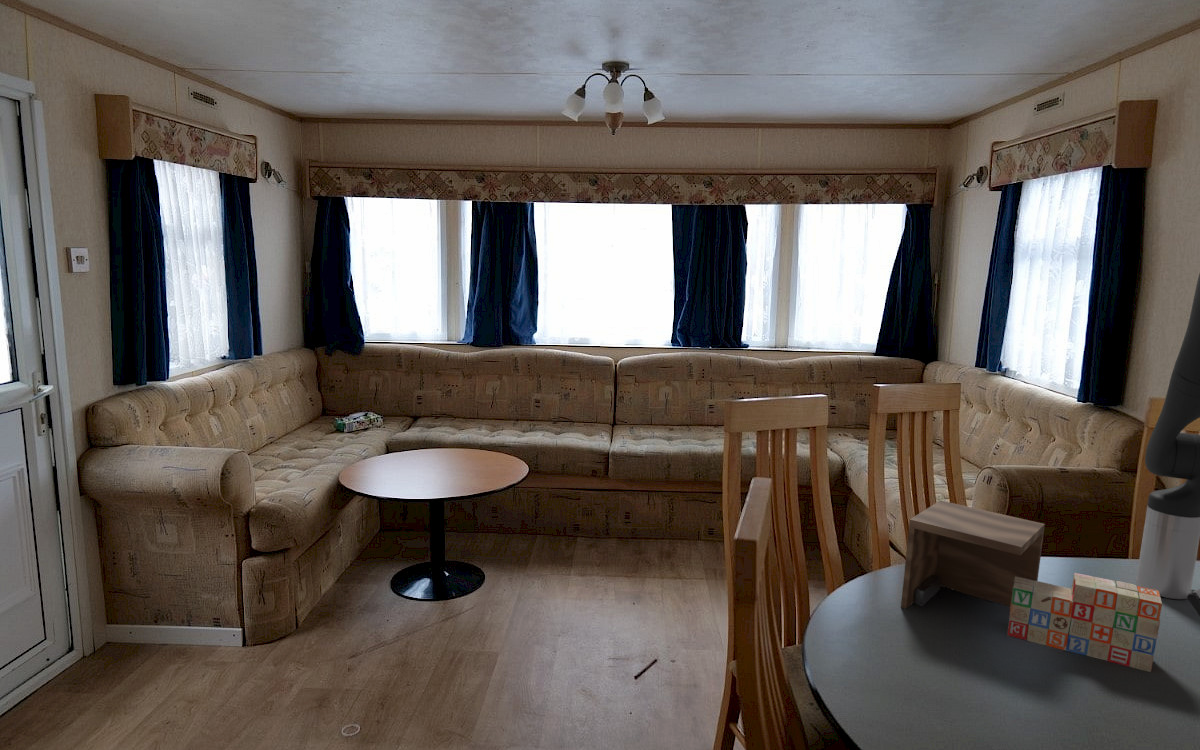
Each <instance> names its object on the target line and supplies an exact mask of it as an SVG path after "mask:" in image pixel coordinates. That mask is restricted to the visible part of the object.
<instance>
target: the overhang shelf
mask: <svg viewBox="0 0 1200 750" xmlns="http://www.w3.org/2000/svg"><path fill="white" fill-rule="evenodd" d="M908 524H909V525H908V535H907V543H906V544H907V545H906V553H905V561H904V562H905V564H904V573H903V583H902V591H901V592H902V593H901V601H900V602H901V603H900V608H902V607H903V608H902V609H905V610H906V608H907V609H908V608H909V607H910V606H912V603H913V602H914V600H915V590H916V588H917V587H919V586H920V585H921V584H922V583H924V582H925V581H926V580H927V579H928V578H930V577H931V576H932V575H933V574H934V575H937V576H941V582H940V587H942V586H944V587H943V588H945V587H947V588H946V589H949V588H950V590H952V589H953V590H952V591H955V590H956V591H955V592H959V593H963V594H966V595H969V596H973V597H975V598H976V597H977V598H978V599H979V598H980V599H983V600H987V601H989V602H993V603H996V604H1000V605H1003V606H1005V607H1006V606H1007V607H1009V608H1010V605H1011V598H1012V592H1013V586H1014V579H1015V577H1020V578H1025V579H1029V580H1033V581H1038V580H1039V573H1040V572H1039V571H1040V565H1041V558H1042V557H1041V556H1042V550H1043V549H1042V548H1043V547H1042V546H1043V541H1044V534H1045V533H1044V532H1045V527H1046V526H1045V525H1046V524H1045V523H1042V522H1038V521H1033V520H1029V519H1024V518H1019V517H1016V516H1011V515H1006V514H1002V513H999V512H993V511H990V510H985V509H982V508H981V509H980V508H975V507H971V506H967V505H962V504H958V503H953V502H949V501H945V500H938V501H937V502H935V503H934V504H933V505H930V506H929V507H927V508H926V509H923V510H922V511H921V512H920V513H917V514H916V515H914V516H913V517H911V518H910V519H909V523H908ZM913 604H914V603H913Z"/></svg>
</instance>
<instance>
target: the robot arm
mask: <svg viewBox="0 0 1200 750" xmlns="http://www.w3.org/2000/svg"><path fill="white" fill-rule="evenodd" d="M1196 282H1197V283H1196V285H1195V291H1194V296H1193V301H1192V305H1191V311H1190V315H1189V320H1188V323H1187V328H1186V331H1185V333H1184V334H1185V335H1184V337H1183V341H1182V343H1181V347H1180V350H1179V351H1178V352H1179V353H1178V355H1177V358H1176V360H1175V362H1174V366H1173V369H1172V373H1171V374H1170V375H1171V376H1170V380H1169V382H1168V383H1169V384H1168V387H1167V392H1166V395H1165V399H1164V402H1163V406H1162V409H1161V412H1160V414H1159V416H1158V419H1157V420H1156V422H1155V423H1156V424H1155V426H1154V428H1153V430H1152V432H1151V435H1150V438H1149V439H1148V443H1147V447H1146V448H1145V456H1144V463H1145V467H1146V470H1147V471H1149V472H1150V473H1151V474H1153V475H1156V476H1160V477H1168V478H1172V479H1173V478H1175V479H1180V480H1185V482H1183V483H1181V484H1179V485H1177V486H1173V487H1171V488H1170V487H1169V488H1165V489H1158V490H1154V491H1151V492H1150V494H1149V495H1148V499H1147V506H1146V512H1145V520H1144V526H1143V533H1142V540H1141V545H1140V553H1139V558H1138V559H1139V560H1138V565H1137V572H1136V579H1135V585H1136V586H1139V587H1144V588H1148V589H1153V590H1158V591H1159V594H1160V597H1162V598H1167V599H1173V600H1186V599H1187V600H1188V601H1189V603H1190V604H1191V607H1193V609H1194V610H1195V612H1196V613H1197V614H1198V616H1199V617H1200V589H1197V590H1195V589H1192V586H1193V581H1194V575H1195V569H1196V561H1197V558H1198V557H1197V555H1198V549H1199V545H1200V434H1195V433H1188V432H1187V433H1186V432H1183V430H1184V429H1185V428H1186V427H1187V426H1188V425H1189V424H1191V423H1193V422H1195V421H1197V420H1198V419H1200V273H1199V274H1198V278H1197V281H1196Z"/></svg>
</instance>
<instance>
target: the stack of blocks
mask: <svg viewBox="0 0 1200 750" xmlns="http://www.w3.org/2000/svg"><path fill="white" fill-rule="evenodd" d="M1071 584H1072V585H1071V588H1069V587H1065V586H1060V585H1057V584H1056V585H1055V584H1052V583H1047V582H1044V581H1033V580H1029V579H1025V578H1020V577H1015V579H1014V586H1013V592H1012V598H1011V605H1010V607H1009V618H1008V624H1007V632H1006V633H1007V636H1009V637H1012V638H1017V639H1021V640H1025V641H1028V642H1031V643H1036V644H1039V645H1043V646H1047V647H1050V648H1054V649H1057V650H1058V649H1059V650H1063V651H1068V652H1071V653H1075V654H1079V655H1081V656H1082V655H1083V656H1087V657H1090V658H1094V659H1095V658H1096V659H1099V660H1102V661H1107V662H1110V663H1113V664H1114V663H1115V664H1118V665H1122V666H1125V667H1130V668H1134V669H1137V670H1141V671H1145V672H1149V673H1151V672H1152V669H1153V662H1154V656H1155V655H1154V654H1155V651H1156V645H1157V639H1158V636H1159V630H1160V624H1161V620H1160V618H1161V611H1162V606H1163V602H1162V598H1161V596H1160V594H1159V591H1158V590H1153V589H1148V588H1144V587H1139V586H1137V585H1136V583H1135V584H1133V583H1129V582H1124V581H1119V580H1113V579H1107V578H1102V577H1098V576H1094V575H1093V576H1092V575H1088V574H1082V573H1077V572H1073V578H1072V583H1071Z"/></svg>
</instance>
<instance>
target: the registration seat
mask: <svg viewBox="0 0 1200 750" xmlns="http://www.w3.org/2000/svg"><path fill="white" fill-rule="evenodd" d="M940 582H941V576H937V575H934V574H933V575H932V576H931V577H930V578H928V579H927V580H926V581H925V582H924V583H922V584H921V585H920V586H919V587H917V588H916V590H915V600H914V603H915V604H914V603H913V604H914V605H917V606H920V605H921V606H920V607H923V606H925V604H926V603H927V602H928V601H930V600H931V599H932V598H933V597H934V596H935V595H936V594H937V592H938V591H939V590H940V588H941V586H940ZM939 592H940V591H939ZM939 592H938V593H939ZM931 597H932V598H931ZM930 598H931V599H930ZM929 599H930V600H929Z"/></svg>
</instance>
